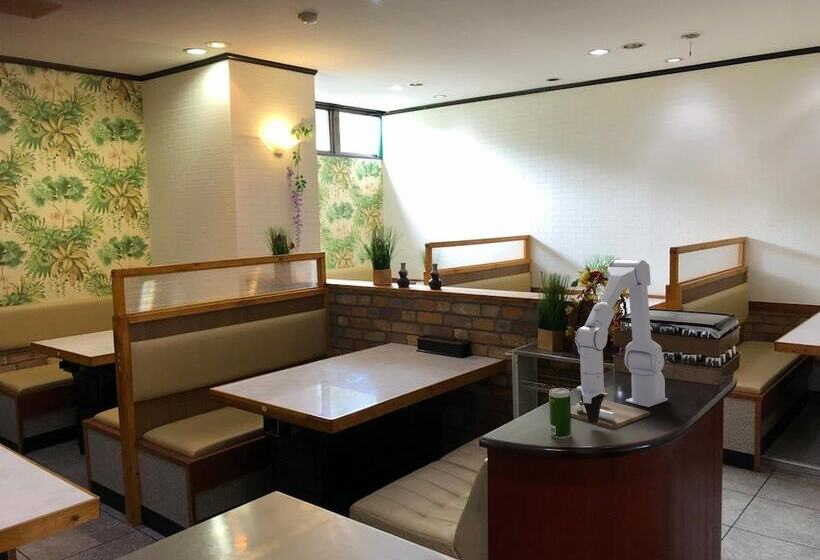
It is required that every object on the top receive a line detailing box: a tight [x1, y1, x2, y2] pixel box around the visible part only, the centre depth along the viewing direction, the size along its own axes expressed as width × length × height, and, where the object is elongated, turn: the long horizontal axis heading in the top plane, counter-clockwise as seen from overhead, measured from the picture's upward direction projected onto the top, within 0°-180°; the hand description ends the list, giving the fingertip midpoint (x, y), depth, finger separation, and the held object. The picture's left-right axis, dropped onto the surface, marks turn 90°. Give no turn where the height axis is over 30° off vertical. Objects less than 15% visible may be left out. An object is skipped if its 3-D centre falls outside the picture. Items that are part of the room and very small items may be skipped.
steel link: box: [575, 400, 615, 421], centre depth 179 cm, size 12×3×3 cm, turn 35°
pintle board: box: [571, 391, 651, 430], centre depth 184 cm, size 16×18×4 cm
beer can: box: [548, 387, 572, 440], centre depth 169 cm, size 5×5×12 cm
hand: (593, 421), depth 173 cm, fingers closed
